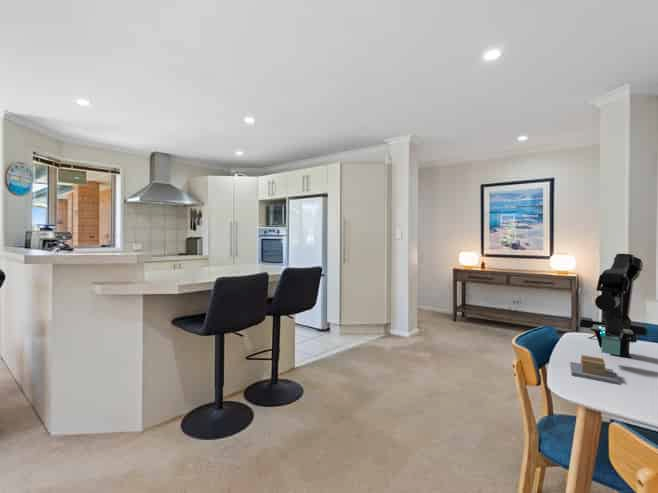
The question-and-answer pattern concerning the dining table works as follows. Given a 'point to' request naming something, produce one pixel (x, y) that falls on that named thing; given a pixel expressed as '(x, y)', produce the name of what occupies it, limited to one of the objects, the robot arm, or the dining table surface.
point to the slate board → (578, 372)
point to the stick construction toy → (601, 333)
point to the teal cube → (610, 345)
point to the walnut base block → (592, 365)
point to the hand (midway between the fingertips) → (609, 348)
